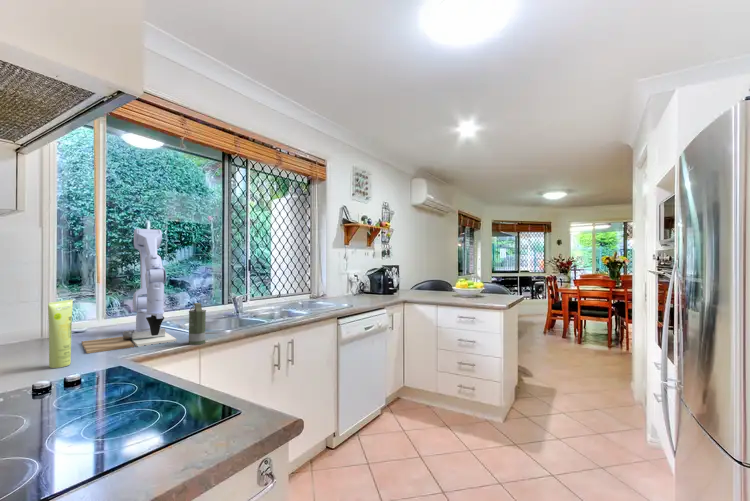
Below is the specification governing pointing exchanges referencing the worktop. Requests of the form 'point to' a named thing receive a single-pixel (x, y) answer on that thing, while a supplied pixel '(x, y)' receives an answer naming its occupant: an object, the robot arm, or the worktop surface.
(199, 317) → the grenade
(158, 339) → the door board
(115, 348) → the board
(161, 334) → the swing bar
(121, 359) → the worktop surface
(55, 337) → the tube
